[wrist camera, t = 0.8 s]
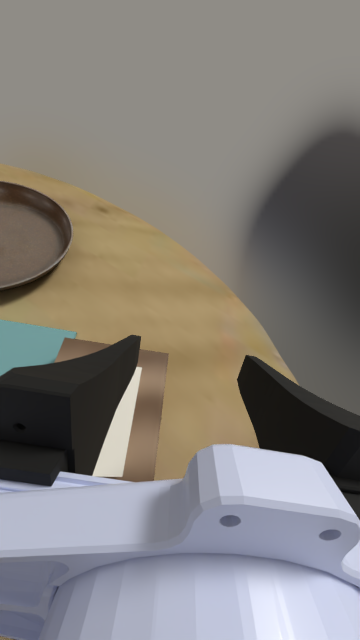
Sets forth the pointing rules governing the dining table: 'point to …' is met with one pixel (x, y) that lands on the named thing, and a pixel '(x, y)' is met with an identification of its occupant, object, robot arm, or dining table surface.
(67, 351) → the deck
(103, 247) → the dining table surface
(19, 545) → the robot arm
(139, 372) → the tile
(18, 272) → the plant saucer
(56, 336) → the mat
